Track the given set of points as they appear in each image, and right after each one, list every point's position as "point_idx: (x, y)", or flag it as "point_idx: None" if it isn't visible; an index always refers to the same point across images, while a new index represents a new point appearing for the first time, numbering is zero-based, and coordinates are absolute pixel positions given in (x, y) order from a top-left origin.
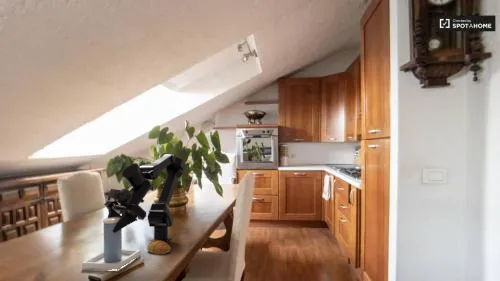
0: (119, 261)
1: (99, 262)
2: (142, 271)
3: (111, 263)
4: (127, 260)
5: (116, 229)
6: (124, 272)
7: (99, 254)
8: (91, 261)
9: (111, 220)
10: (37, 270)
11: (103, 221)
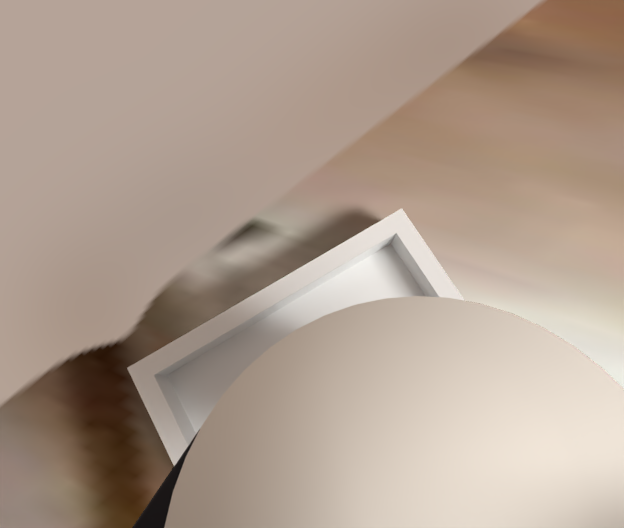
0: None
1: None
2: (8, 498)
3: (195, 346)
4: None
5: None
6: (109, 399)
7: None
8: (425, 286)
9: (263, 451)
10: (606, 52)
11: (427, 301)
